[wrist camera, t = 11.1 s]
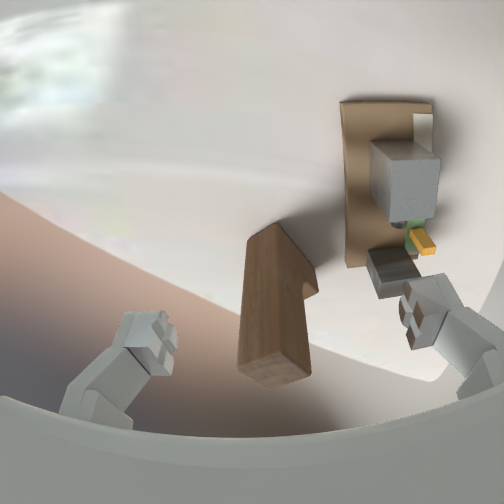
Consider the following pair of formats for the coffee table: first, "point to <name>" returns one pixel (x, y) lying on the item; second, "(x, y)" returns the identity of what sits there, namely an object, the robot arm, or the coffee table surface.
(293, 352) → the wooden block
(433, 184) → the block
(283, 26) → the coffee table surface
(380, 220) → the bench
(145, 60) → the coffee table surface
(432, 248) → the amber brick
